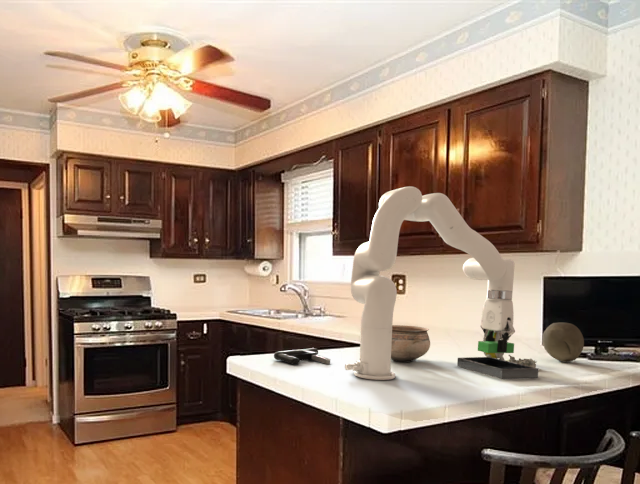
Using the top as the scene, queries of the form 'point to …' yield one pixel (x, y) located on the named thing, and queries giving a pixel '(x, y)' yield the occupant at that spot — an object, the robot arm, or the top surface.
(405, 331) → the cooking pot
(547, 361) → the top surface
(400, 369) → the top surface
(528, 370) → the dark grey tray
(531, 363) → the grey lumpy piece
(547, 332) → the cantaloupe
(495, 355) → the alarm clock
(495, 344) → the block
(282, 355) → the door handle
